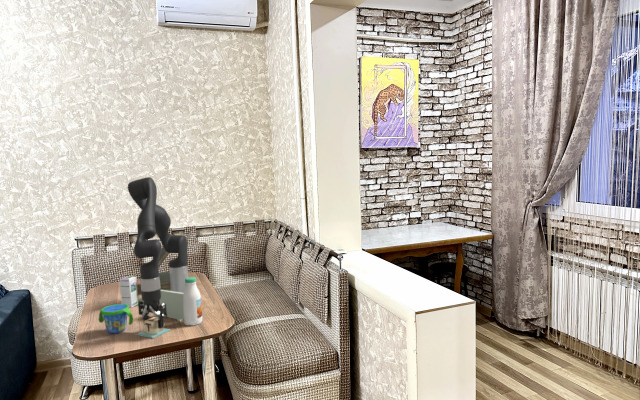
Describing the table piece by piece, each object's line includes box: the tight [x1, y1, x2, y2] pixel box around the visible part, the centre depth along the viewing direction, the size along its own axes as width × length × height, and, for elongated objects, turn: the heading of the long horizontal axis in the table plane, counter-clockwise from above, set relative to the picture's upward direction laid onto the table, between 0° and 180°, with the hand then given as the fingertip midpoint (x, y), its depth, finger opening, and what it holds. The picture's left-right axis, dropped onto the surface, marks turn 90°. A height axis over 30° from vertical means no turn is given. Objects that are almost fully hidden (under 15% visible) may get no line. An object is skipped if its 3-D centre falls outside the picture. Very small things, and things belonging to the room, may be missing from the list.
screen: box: [158, 290, 184, 322], centre depth 205 cm, size 5×16×12 cm, turn 61°
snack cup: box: [98, 303, 134, 334], centre depth 191 cm, size 16×10×10 cm
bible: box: [139, 247, 171, 291], centre depth 258 cm, size 23×20×25 cm
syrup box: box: [119, 275, 139, 309], centre depth 225 cm, size 6×6×14 cm
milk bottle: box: [183, 276, 203, 327], centre depth 196 cm, size 8×8×20 cm
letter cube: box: [143, 316, 164, 334], centre depth 187 cm, size 5×5×5 cm
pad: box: [137, 327, 171, 339], centre depth 187 cm, size 9×9×1 cm
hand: (153, 326), depth 187 cm, fingers open, 8 cm apart
